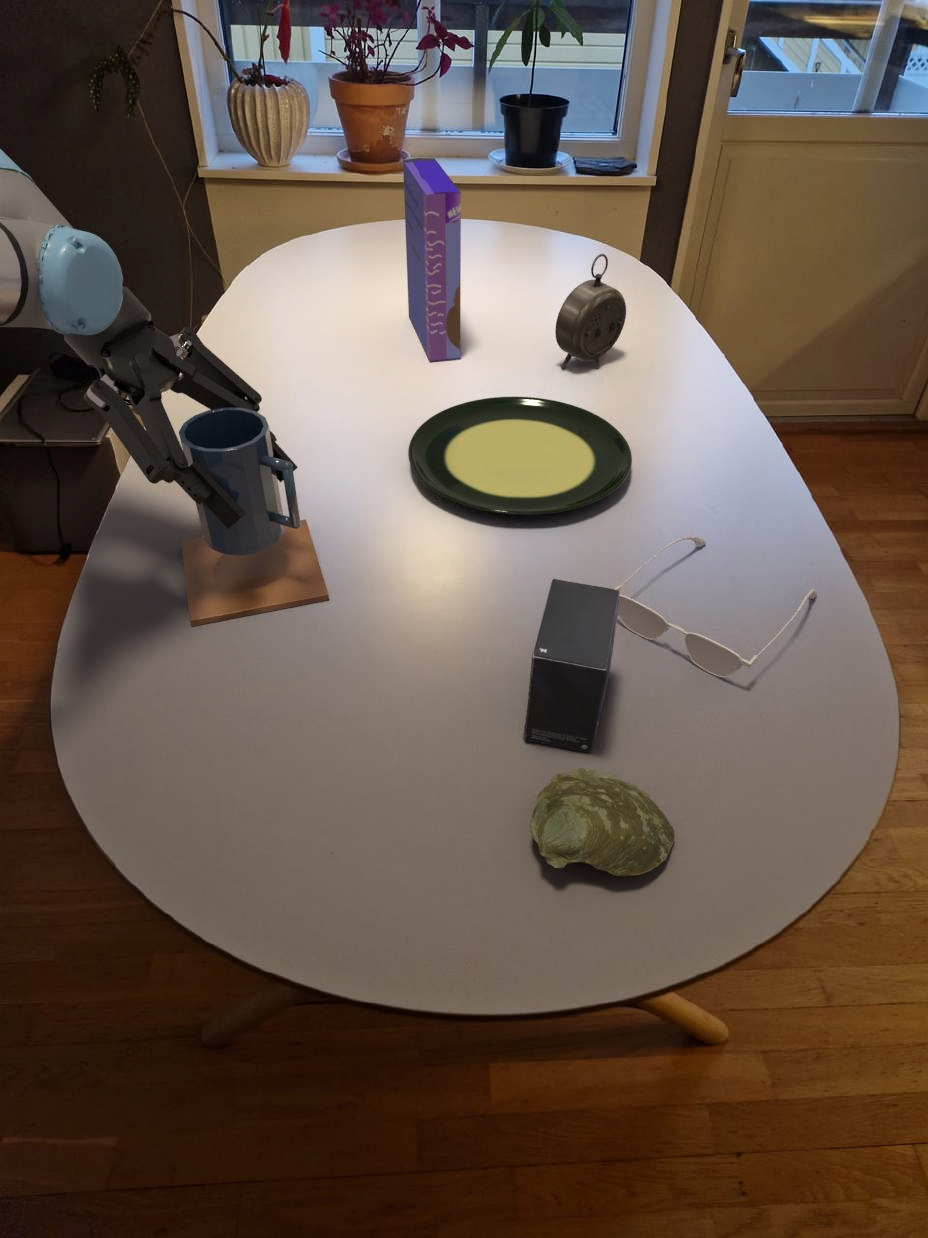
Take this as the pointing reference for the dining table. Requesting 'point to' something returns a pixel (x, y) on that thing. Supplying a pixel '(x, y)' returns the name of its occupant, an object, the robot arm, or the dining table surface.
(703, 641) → the eyeglasses
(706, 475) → the dining table surface
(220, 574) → the cork mat
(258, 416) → the mug
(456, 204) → the cereal box
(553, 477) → the plate
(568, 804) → the seashell
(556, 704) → the small box
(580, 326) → the alarm clock
